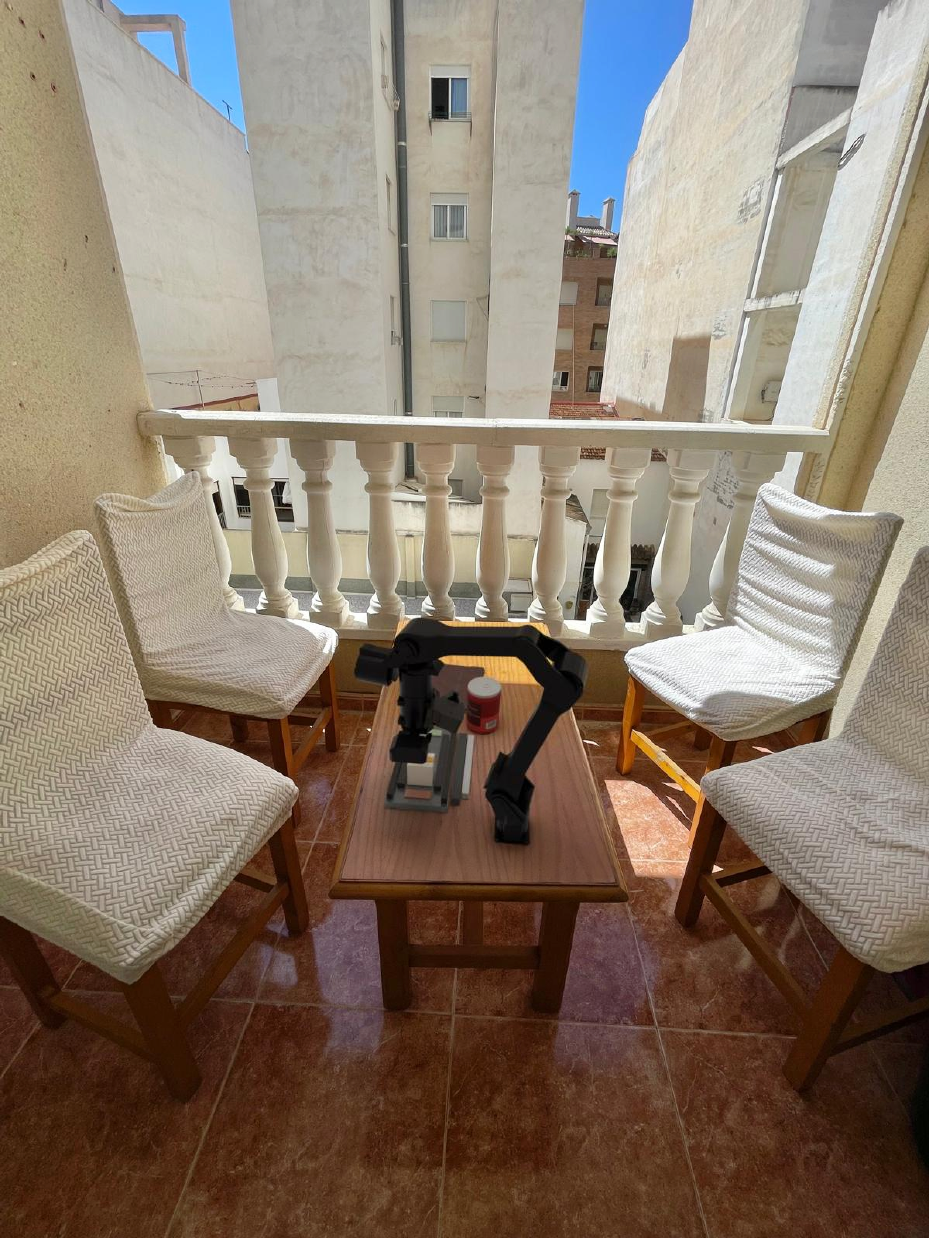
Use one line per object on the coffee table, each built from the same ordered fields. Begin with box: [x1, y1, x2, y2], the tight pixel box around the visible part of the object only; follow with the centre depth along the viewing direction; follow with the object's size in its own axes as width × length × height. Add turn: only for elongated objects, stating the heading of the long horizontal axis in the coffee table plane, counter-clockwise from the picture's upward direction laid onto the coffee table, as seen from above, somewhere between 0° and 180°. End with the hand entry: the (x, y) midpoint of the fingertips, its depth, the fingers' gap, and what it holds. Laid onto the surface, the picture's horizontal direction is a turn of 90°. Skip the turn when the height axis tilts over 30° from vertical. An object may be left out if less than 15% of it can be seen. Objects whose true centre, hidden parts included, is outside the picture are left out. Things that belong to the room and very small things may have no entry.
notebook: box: [433, 663, 486, 715], centre depth 144 cm, size 15×20×2 cm
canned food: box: [465, 676, 502, 735], centre depth 129 cm, size 8×8×11 cm
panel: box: [384, 725, 459, 814], centre depth 117 cm, size 24×12×3 cm, turn 176°
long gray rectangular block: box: [449, 732, 475, 807], centre depth 117 cm, size 20×3×2 cm, turn 176°
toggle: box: [407, 753, 435, 786], centre depth 111 cm, size 4×5×5 cm
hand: (416, 758), depth 102 cm, fingers closed
